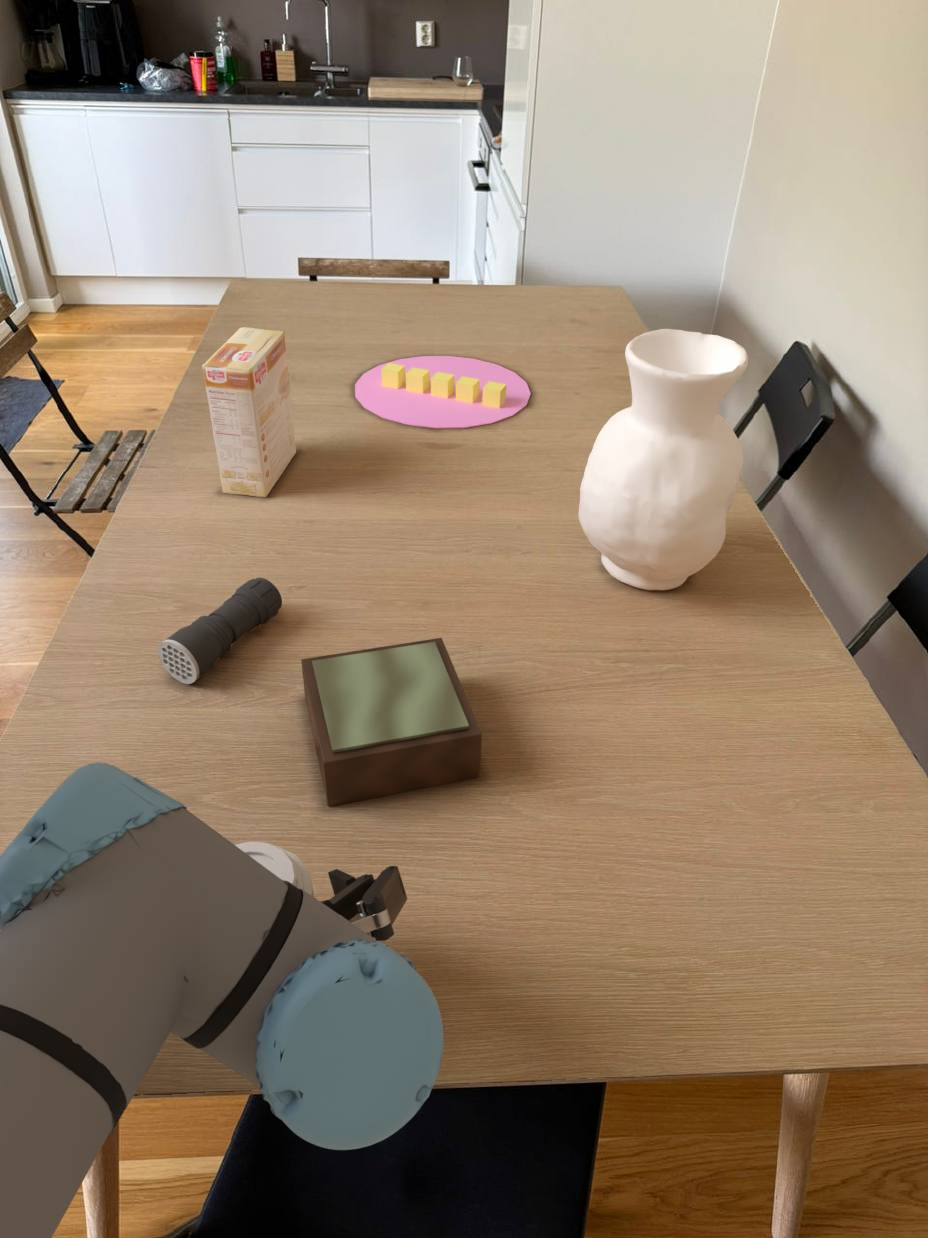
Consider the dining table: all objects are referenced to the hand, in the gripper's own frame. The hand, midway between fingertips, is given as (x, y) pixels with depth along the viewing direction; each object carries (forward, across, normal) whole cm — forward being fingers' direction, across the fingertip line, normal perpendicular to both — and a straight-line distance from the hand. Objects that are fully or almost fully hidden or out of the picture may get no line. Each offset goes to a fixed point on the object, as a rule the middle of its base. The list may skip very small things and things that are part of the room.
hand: (253, 919), depth 68 cm
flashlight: (+32, +8, +24) cm, 41 cm away
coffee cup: (+3, 0, -5) cm, 6 cm away
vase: (+27, +61, +19) cm, 70 cm away
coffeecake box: (+60, +23, +52) cm, 82 cm away
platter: (+72, +62, +64) cm, 114 cm away
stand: (+17, +19, +9) cm, 27 cm away
